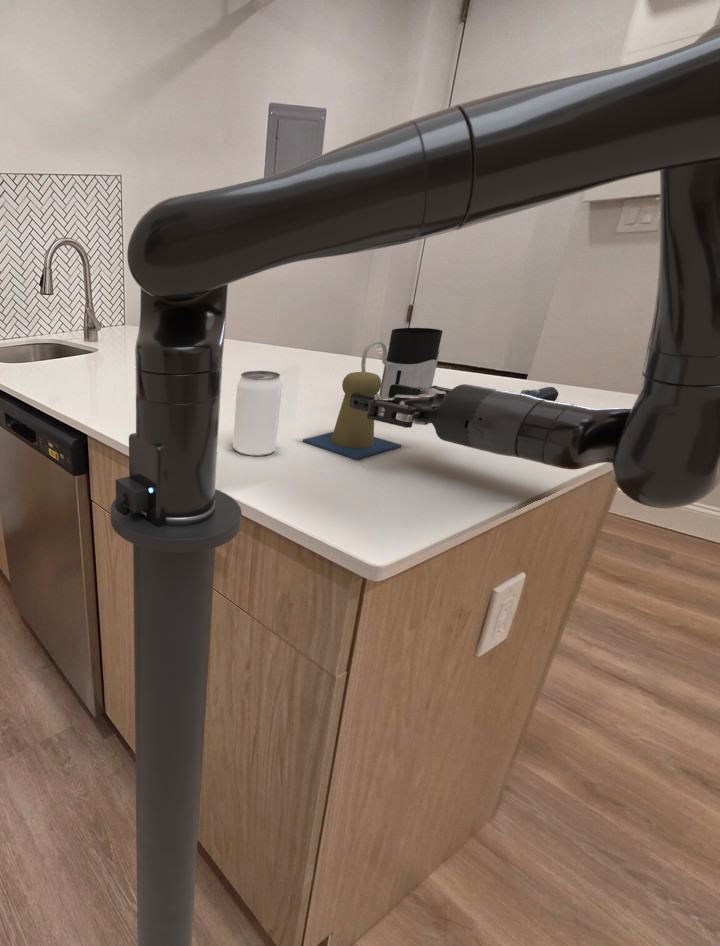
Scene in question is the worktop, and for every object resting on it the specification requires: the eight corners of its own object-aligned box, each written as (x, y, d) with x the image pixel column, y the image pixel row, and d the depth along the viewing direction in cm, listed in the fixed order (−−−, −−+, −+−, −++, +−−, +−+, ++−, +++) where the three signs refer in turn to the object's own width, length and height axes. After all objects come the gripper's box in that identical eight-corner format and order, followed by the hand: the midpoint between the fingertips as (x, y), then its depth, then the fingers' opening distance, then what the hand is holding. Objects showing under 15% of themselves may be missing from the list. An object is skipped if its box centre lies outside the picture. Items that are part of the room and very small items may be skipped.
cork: (379, 448, 79) (392, 376, 75) (336, 448, 80) (347, 377, 76) (366, 436, 85) (378, 368, 80) (326, 435, 86) (336, 369, 81)
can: (284, 453, 80) (292, 376, 76) (246, 459, 79) (252, 380, 74) (260, 440, 86) (267, 368, 81) (225, 445, 85) (229, 372, 80)
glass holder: (440, 418, 92) (460, 331, 86) (370, 427, 90) (385, 338, 84) (402, 406, 100) (418, 325, 94) (337, 414, 98) (349, 332, 92)
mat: (356, 460, 77) (357, 457, 76) (302, 441, 85) (302, 439, 85) (401, 447, 80) (401, 444, 80) (345, 430, 89) (345, 428, 89)
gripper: (531, 382, 65) (407, 363, 79) (463, 399, 60) (342, 376, 73) (515, 438, 68) (397, 411, 82) (448, 460, 63) (334, 427, 76)
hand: (371, 395), depth 78 cm, fingers open, 8 cm apart
